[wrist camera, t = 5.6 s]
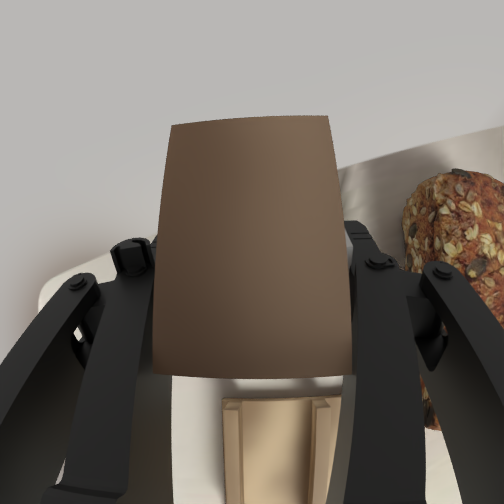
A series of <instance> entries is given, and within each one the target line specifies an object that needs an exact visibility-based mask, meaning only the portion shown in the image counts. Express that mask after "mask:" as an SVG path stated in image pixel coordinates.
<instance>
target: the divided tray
mask: <svg viewBox="0 0 504 504" xmlns="http://www.w3.org/2000/svg"><path fill="white" fill-rule="evenodd" d="M341 396H342V394H339V395H328V396H315V397H297V398H263V399H247V398H223V400H222V425H223V453H224V476H225V495H226V504H325V503H326V498H327V493H328V488H329V483H330V477H331V471H332V465H333V459H334V453H335V446H336V439H337V431H338V423H339V415H340V406H341Z"/></svg>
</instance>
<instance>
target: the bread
mask: <svg viewBox="0 0 504 504" xmlns="http://www.w3.org/2000/svg"><path fill="white" fill-rule="evenodd" d="M402 228H403V231H404V235H405V238H404V239H405V251H406V259H405V271H409V272H416V273H422V271H423V267H424V265H425V264H426V263H427V262H430V261H444V262H447V263H449V264H450V265H452V266H454V267H455V268H457V269H458V270H459V271H460V272H461V274H462V275H463V276H464V277H465V278H466V280H467V281H468V282H469V283H470V285H471V286H472V287H473V288H474V290H475V291H476V292H477V293H478V295H479V296H480V297H481V299H482V300H483V301H484V302H485V304H486V305H487V306H488V308H489V309H490V310H491V312H492V313H493V315H494V316H495V317H496V319H497V320H498V322H499V323H500V324H501V326H502V327H503V329H504V184H503V183H502V182H500V181H498V180H496V179H494V178H493V177H492V176H490V175H488V174H481V173H479V172H472V171H464V170H462V169H456V168H455V169H452V172H450V173H445V174H440V173H438V175H437V176H435V177H432V178H430V179H427V180H425V181H424V182H422V183H421V184H419V185H418V187H417V189H416V191H415V192H414V193H412V195H411V198H409V199H407V206H406V207H404V211H403V217H402ZM444 330H445V331H446V333H447V334H448V332H447V330H446V327H445V326H444ZM419 373H420V372H419ZM420 382H421V391H422V401H423V412H424V426H425V427H426V428H428V429H432V430H439V431H441V428H440V425H439V422H438V419H437V416H436V413H435V411H434V408H433V405H432V403H431V400H430V397H429V395H428V392H427V390H426V387H425V384H424V382H423V379H422V377H421V375H420Z"/></svg>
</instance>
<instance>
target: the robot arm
mask: <svg viewBox="0 0 504 504" xmlns="http://www.w3.org/2000/svg"><path fill="white" fill-rule="evenodd" d="M344 227H345V237H346V247H347V259H348V272H349V287H350V305H351V331H352V375H343V386H342V396H341V406H340V415H339V423H338V431H337V439H336V446H335V453H334V459H333V465H332V471H331V477H330V483H329V488H328V493H327V498H326V503H325V504H427V503H426V500H425V482H426V452H425V427H424V412H423V401H422V391H421V382H420V375H421V377H422V379H423V382H424V384H425V387H426V390H427V392H428V395H429V397H430V400H431V403H432V405H433V408H434V411H435V413H436V416H437V419H438V422H439V425H440V428H441V431H442V433H443V436H444V440H445V443H446V446H447V449H448V452H449V455H450V459H451V462H452V465H453V469H454V472H455V476H456V479H457V483H458V487H459V491H460V495H461V499H462V503H463V504H504V329H503V327H502V326H501V324H500V323H499V322H498V320H497V319H496V317H495V316H494V315H493V313H492V312H491V310H490V309H489V308H488V306H487V305H486V304H485V302H484V301H483V300H482V299H481V297H480V296H479V295H478V293H477V292H476V291H475V290H474V288H473V287H472V286H471V285H470V283H469V282H468V281H467V280H466V278H465V277H464V276H463V275H462V274H461V272H460V271H459V270H458V269H457V268H455V267H454V266H452V265H450V264H449V263H447V262H444V261H430V262H427V263H426V264H425V265H424V267H423V271H422V273H416V272H409V271H404V270H400V269H399V265H398V263H397V261H396V260H395V259H394V258H392V257H391V256H389V255H387V254H384V253H381V252H380V250H379V248H378V247H377V245H376V243H375V242H374V240H373V239H372V237H371V235H370V234H369V232H368V230H367V228H366V227H365V226H364V225H363V224H361V223H360V222H358V221H344ZM156 247H157V236H156V237H155V239H154V240H153V241H152V243H151V244H150V241H149V240H147V239H145V238H132V239H128V240H125V241H122V242H120V243H118V244H117V245H115V246H114V247H113V248H112V249H111V250H110V253H111V256H112V259H113V262H114V265H115V268H116V271H117V276H116V278H115V280H114V281H110V282H105V283H101V284H98V283H97V280H96V278H95V276H94V275H93V274H91V273H79V274H78V275H77V274H76V275H74V276H73V277H71V278H69V279H68V280H67V281H66V282H65V283H64V284H63V285H62V286H61V287H60V288H59V289H58V291H57V292H56V293H55V294H54V295H53V296H52V298H51V299H50V300H49V301H48V302H47V304H46V305H45V306H44V307H43V309H42V310H41V311H40V312H39V314H38V315H37V316H36V317H35V319H34V320H33V321H32V322H31V324H30V325H29V326H28V328H27V329H26V330H25V332H24V333H23V334H22V335H21V337H20V338H19V339H18V341H17V342H16V344H15V345H14V347H13V348H12V349H11V351H10V352H9V353H8V355H7V356H6V358H5V359H4V360H3V362H2V364H1V365H0V504H174V503H173V484H172V452H171V399H172V375H162V374H153V299H154V277H155V261H156ZM444 326H445V327H446V330H447V332H448V334H447V333H446V331H445V330H444ZM77 327H78V328H79V330H80V332H81V334H82V338H81V339H80V340H79V341H78V340H77V339H76V337H75V335H74V331H75V330H76V328H77ZM419 372H420V373H419ZM65 458H66V459H65ZM64 460H65V466H64V473H63V477H62V480H61V481H60V483H59V484H56V485H55V483H56V481H57V478H58V475H59V473H60V470H61V468H62V465H63V463H64Z"/></svg>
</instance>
